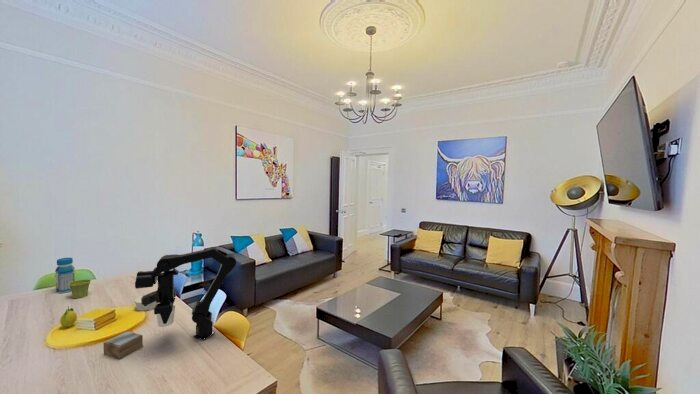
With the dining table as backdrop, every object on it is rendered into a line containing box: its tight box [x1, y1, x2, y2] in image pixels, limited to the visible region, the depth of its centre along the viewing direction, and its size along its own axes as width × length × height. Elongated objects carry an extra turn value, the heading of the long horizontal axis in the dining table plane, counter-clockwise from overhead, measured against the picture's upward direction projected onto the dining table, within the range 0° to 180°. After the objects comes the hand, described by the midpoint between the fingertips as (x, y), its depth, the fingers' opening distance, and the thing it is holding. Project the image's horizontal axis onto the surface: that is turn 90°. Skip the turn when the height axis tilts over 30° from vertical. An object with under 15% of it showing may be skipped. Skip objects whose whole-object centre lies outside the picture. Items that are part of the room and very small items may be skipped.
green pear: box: [59, 305, 78, 327], centre depth 129 cm, size 7×6×10 cm
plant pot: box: [68, 278, 92, 299], centre depth 161 cm, size 9×9×9 cm
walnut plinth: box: [103, 330, 144, 360], centre depth 114 cm, size 9×9×5 cm
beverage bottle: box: [54, 257, 76, 294], centre depth 168 cm, size 8×8×20 cm
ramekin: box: [134, 295, 159, 312], centre depth 151 cm, size 11×11×5 cm
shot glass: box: [156, 304, 176, 328], centre depth 119 cm, size 7×7×7 cm
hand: (165, 320), depth 120 cm, fingers closed on shot glass, 6 cm apart
